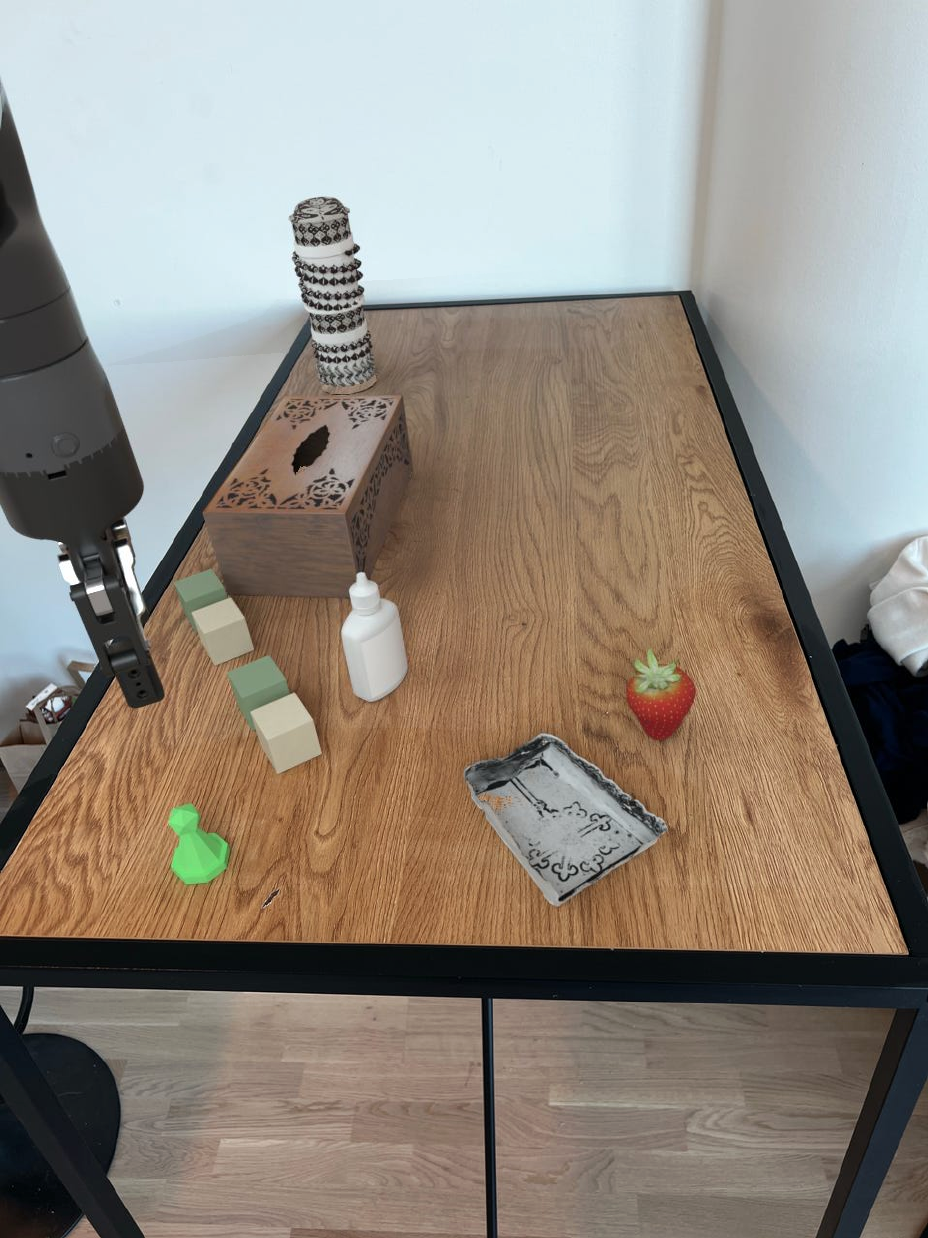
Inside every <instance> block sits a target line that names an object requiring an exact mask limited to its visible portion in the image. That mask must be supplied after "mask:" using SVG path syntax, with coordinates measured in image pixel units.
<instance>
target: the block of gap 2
mask: <svg viewBox="0 0 928 1238" xmlns="http://www.w3.org/2000/svg"><path fill="white" fill-rule="evenodd" d="M226 675H227V677H228V681H229V684H230V687H231V690H232V693H233V696H234V699H235V702H236V704H237V707H238V709H239V711H240V712H241V714H242V716H243V717H244V719H245V721H246V722H247V724H248V726H249V727H250V729H251V731H252V732H254V731H256V729H255V726H254V723H253V719H252V716H251V713H250V712H251V711H253V710H255V709H257V708H260V707H262V706H264V705H267V704H269V703H271V702H274V701H276V700H278V699H281V698H283V697H285V696H288V695H290V694H291V692H290V689H289V685H288V681H287V678H286V677H285V675H284V674H283V672H282V671H281V669H280V668H279V666H278V665H277V664H276V662H275V660H274V659H273V658H272V655H270V654H268V655H265V656H263V657H260V658H257V659H255V660H253V661H250V662H248V663H246V664H243V665H241V666H238V667H236V668H234V669H231V670H228V671H227V672H226Z"/></svg>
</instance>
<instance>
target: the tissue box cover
mask: <svg viewBox="0 0 928 1238" xmlns="http://www.w3.org/2000/svg"><path fill="white" fill-rule="evenodd" d="M412 459H413V458H412V451H411V445H410V438H409V431H408V422H407V416H406V408H405V399H404V395H403V394H350V395H331V394H329V395H283V397H282V399H281V400H280V401H279V403H278V404H277V406H276V407H275V408H274V410H273V412H272V413H271V414H270V415H269V417H268V419H267V420H266V421H265V423H264V424H263V426H262V427H261V428H260V430H259V431H258V432H257V434H256V435H255V437H254V438H253V440H252V441H251V443H250V444H249V445H248V447H247V448H246V450H245V451H244V452H243V454H242V455H241V457H240V458H239V459H238V461H237V463H235V465H234V467H233V468H232V470H231V471H230V472H229V474H228V475H227V477H226V478H225V479H224V481H223V483H221V485H220V487H219V488H218V489H217V490H216V492H215V494H214V495H213V496H212V498H211V499H210V501H209V502H208V504H207V505H206V506H205V508H204V510H202V516H203V519H204V522H205V526H206V529H207V531H208V536H209V539H210V542H211V545H212V549H213V551H214V552H213V553H214V555H215V559H216V562H217V566H218V568H219V572H220V575H221V579H222V582H223V586H224V587H225V591H226V594H227V596H228V595H234V596H235V595H236V596H267V597H297V598H299V597H302V598H331V599H351V598H350V593H349V589H350V587H351V586H352V585H353V584H354V583H356V579H357V574H358V573H360V572H363V573H365V575H366V577H367V580H370V578H371V576H372V573H373V572H374V571H373V570H374V568H375V566H376V564H377V560H378V558H379V556H380V554H381V551H382V548H383V545H384V543H385V541H386V538H387V536H388V535H389V532H390V529H391V526H392V524H393V522H394V519H395V516H396V514H397V512H398V509H399V507H400V504H401V503H402V500H403V497H404V495H405V492H406V490H407V487H408V485H409V482H410V480H411V478H410V475H411V472H412V471H413V472H414V467H413V460H412ZM300 466H301V467H303V466H306V467H307V468H306V469H304V470H303V471H302V472H300V473H298V474H296V472H298V470H299V468H300ZM411 476H412V475H411ZM409 479H410V480H409Z"/></svg>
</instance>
